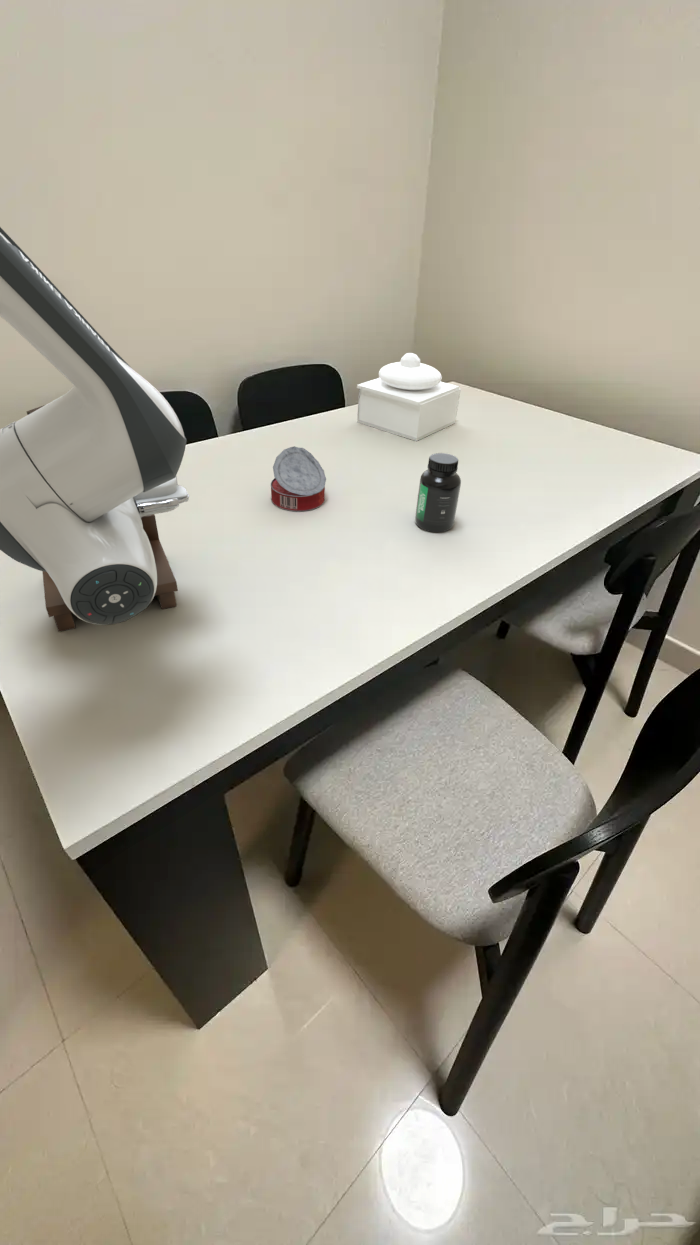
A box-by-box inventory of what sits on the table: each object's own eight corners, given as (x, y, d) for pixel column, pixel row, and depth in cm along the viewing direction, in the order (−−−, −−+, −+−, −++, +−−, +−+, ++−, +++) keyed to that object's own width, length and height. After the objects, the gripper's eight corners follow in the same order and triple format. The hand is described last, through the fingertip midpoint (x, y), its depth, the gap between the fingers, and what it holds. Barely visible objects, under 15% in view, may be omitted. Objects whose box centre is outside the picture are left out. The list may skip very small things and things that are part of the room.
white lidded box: (455, 422, 144) (466, 354, 134) (415, 441, 133) (423, 368, 123) (397, 406, 152) (404, 340, 143) (355, 422, 141) (358, 352, 131)
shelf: (54, 632, 74) (36, 581, 69) (48, 578, 84) (32, 529, 79) (180, 605, 80) (172, 556, 75) (161, 557, 90) (152, 510, 85)
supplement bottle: (415, 532, 100) (424, 465, 92) (413, 513, 105) (422, 449, 98) (455, 534, 99) (467, 468, 92) (451, 515, 105) (462, 451, 97)
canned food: (316, 511, 113) (341, 469, 109) (308, 531, 105) (335, 486, 100) (264, 481, 111) (288, 436, 106) (252, 499, 103) (278, 451, 98)
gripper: (189, 475, 63) (164, 432, 73) (-24, 505, 56) (-20, 452, 66) (196, 527, 67) (171, 479, 77) (-3, 561, 60) (-2, 503, 70)
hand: (82, 467), depth 71 cm, fingers closed on coffee box, 8 cm apart
